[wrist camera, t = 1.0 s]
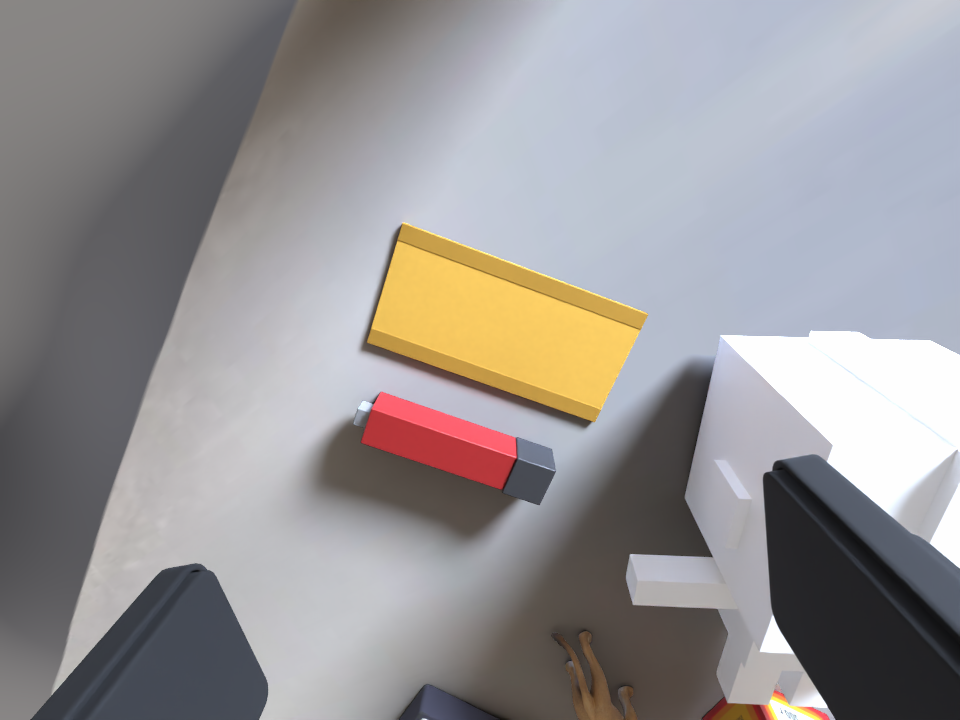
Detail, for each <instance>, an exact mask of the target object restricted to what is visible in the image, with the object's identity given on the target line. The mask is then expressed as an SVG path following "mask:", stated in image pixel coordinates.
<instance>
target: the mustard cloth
mask: <svg viewBox="0 0 960 720" xmlns="http://www.w3.org/2000/svg"><path fill="white" fill-rule="evenodd" d="M647 316H648V314H647V313H645V312H642V311H640V310H637V309H634V308H632V307H629V306H626V305H624V304H621V303H618V302H616V301H613V300H610V299H608V298H605V297H602V296H600V295H597V294H594V293H591V292H589V291H586V290H583V289H581V288H578V287H575V286H573V285H570V284H567V283H565V282H562V281H559V280H557V279H554V278H551V277H548V276H546V275H543V274H540V273H538V272H535V271H532V270H530V269H527V268H524V267H522V266H519V265H516V264H514V263H511V262H508V261H505V260H503V259H500V258H497V257H495V256H492V255H489V254H487V253H484V252H481V251H479V250H476V249H473V248H471V247H468V246H465V245H463V244H460V243H457V242H454V241H452V240H449V239H446V238H444V237H441V236H438V235H436V234H433V233H430V232H428V231H425V230H422V229H420V228H417V227H414V226H411V225H409V224H406V223H402V226H401V229H400V233H399V236H398V240H397V243H396V246H395V250H394V253H393V256H392V260H391V263H390V267H389V270H388V273H387V277H386V280H385V283H384V287H383V290H382V293H381V297H380V300H379V303H378V307H377V310H376V314H375V317H374V320H373V324H372V327H371V330H370V333H369V337H368V340H367V343H369V344H372V345H375V346H378V347H381V348H384V349H387V350H389V351H392V352H395V353H398V354H401V355H404V356H407V357H409V358H412V359H415V360H418V361H421V362H424V363H427V364H429V365H432V366H435V367H438V368H441V369H444V370H446V371H449V372H452V373H455V374H458V375H461V376H464V377H466V378H469V379H472V380H475V381H478V382H481V383H484V384H486V385H489V386H492V387H495V388H498V389H501V390H504V391H506V392H509V393H512V394H515V395H518V396H521V397H524V398H526V399H529V400H532V401H535V402H538V403H541V404H544V405H546V406H549V407H552V408H555V409H558V410H561V411H564V412H566V413H569V414H572V415H575V416H578V417H581V418H584V419H586V420H589V421H592V422H595V421H596V419H597V417H598V415H599V413H600V411H601V408H602V406H603V404H604V402H605V400H606V398H607V396H608V394H609V392H610V390H611V388H612V386H613V384H614V382H615V380H616V378H617V376H618V374H619V372H620V370H621V368H622V366H623V364H624V362H625V360H626V358H627V356H628V354H629V352H630V350H631V348H632V346H633V344H634V342H635V340H636V338H637V336H638V334H639V332H640V330H641V328H642V326H643V324H644V322H645V320H646V318H647Z"/></svg>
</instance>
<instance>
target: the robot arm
mask: <svg viewBox="0 0 960 720" xmlns="http://www.w3.org/2000/svg"><path fill="white" fill-rule="evenodd" d="M763 493H764V509H765V524H766V539H767V554H768V569H769V584H770V599H771V609H772V612H773V616H774V619H775V621H776V624H777V626H778V628H779V630H780V632H781V633H782V635H783V636H784V638H785V640H786V641H787V643H788V644H789V646H790V648H791V649H792V651H793V652H794V654H795V656H796V657H797V659H798V660H799V662H800V664H801V665H802V667H803V668H804V670H805V671H806V673H807V675H808V676H809V678H810V679H811V681H812V683H813V684H814V686H815V687H816V689H817V691H818V692H819V694H820V695H821V697H822V699H823V700H824V702H825V703H826V705H827V706H828V708H829V710H830V711H831V713H832V714H833V716H834V718H835V719H836V720H960V568H959V567H957V566H956V565H955V564H954V563H953V562H951V561H950V560H949V559H948V558H947V557H945V556H944V555H943V554H942V553H941V552H939V551H938V550H937V549H936V548H935V547H933V546H932V545H931V544H930V543H928V542H927V541H925V540H924V539H922V538H921V537H919V536H918V535H915V534H911V533H910V532H909V531H908V530H907V529H905V528H904V527H903V526H902V525H901V524H900V523H898V522H897V521H896V520H895V519H894V518H892V517H891V516H890V515H889V514H888V513H887V512H885V511H884V510H883V509H882V508H881V507H880V506H878V505H877V504H876V503H875V502H874V501H872V500H871V499H870V498H869V497H868V496H867V495H865V494H864V493H863V492H862V491H861V490H859V489H858V488H857V487H856V486H855V485H854V484H852V483H851V482H850V481H849V480H848V479H846V478H845V477H844V476H843V475H842V474H841V473H839V472H838V471H837V470H836V469H835V468H834V467H832V466H831V465H830V464H829V463H828V462H826V461H825V460H824V459H823V458H822V457H820V456H818V455H816V454H811V455H805V456H799V457H794V458H788V459H782V460H777V461H775V462H774V464H773V467H772V471H770V472H766V473H764V475H763ZM267 697H268V683H267V680H266V678H265V676H264V673H263V671H262V669H261V667H260V665H259V663H258V661H257V659H256V657H255V655H254V653H253V651H252V649H251V647H250V645H249V643H248V641H247V639H246V637H245V635H244V633H243V631H242V629H241V627H240V624H239V622H238V620H237V618H236V616H235V614H234V612H233V610H232V608H231V606H230V604H229V602H228V600H227V598H226V596H225V594H224V592H223V590H222V588H221V586H220V584H219V582H218V580H217V577H216V576H215V574H214V573H213V572H212V571H209V570H207V569H206V568H205V567H204V566H203V565H201V564H196V563H195V564H190V565H184V566H178V567H173V568H168V569H165V570H162V571H161V572H160V573H159V574H158V575H157V576H156V577H155V578H154V579H153V580H152V581H151V583H150V584H149V585H148V586H147V587H146V588H145V589H144V591H143V592H142V593H141V594H140V595H139V596H138V597H137V599H136V600H135V601H134V602H133V603H132V604H131V605H130V607H129V608H128V609H127V610H126V611H125V612H124V613H123V615H122V616H121V617H120V618H119V619H118V620H117V621H116V623H115V624H114V625H113V626H112V627H111V628H110V629H109V631H108V632H107V633H106V634H105V635H104V636H103V637H102V639H101V640H100V641H99V642H98V643H97V644H96V645H95V647H94V648H93V649H92V650H91V651H90V652H89V654H88V655H87V656H86V657H85V658H84V659H83V660H82V662H81V663H80V664H79V665H78V666H77V667H76V668H75V670H74V671H73V672H72V673H71V674H70V675H69V676H68V678H67V679H66V680H65V681H64V682H63V683H62V684H61V686H60V687H59V688H58V689H57V690H56V691H55V692H54V694H53V695H52V696H51V697H50V698H49V699H48V700H47V702H46V703H45V704H44V705H43V706H42V707H41V708H40V710H39V711H38V712H37V713H36V714H35V715H34V717H33V718H32V719H31V720H259V718H260V716H261V714H262V711H263V709H264V707H265V704H266V701H267Z"/></svg>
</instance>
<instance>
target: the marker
mask: <svg viewBox="0 0 960 720" xmlns="http://www.w3.org/2000/svg"><path fill="white" fill-rule="evenodd" d="M353 424H354V425H357V426H360V427H362V428H365V430H364V433H363V436H362V439H361V443H362V444H365V445H368V446H371V447H374V448H377V449H380V450H383V451H386V452H389V453H392V454H395V455H398V456H401V457H404V458H407V459H410V460H413V461H416V462H419V463H422V464H425V465H428V466H431V467H434V468H437V469H440V470H443V471H446V472H449V473H452V474H455V475H458V476H461V477H464V478H467V479H470V480H473V481H476V482H479V483H482V484H485V485H488V486H491V487H494V488H497V489H500V490H502V493H504V494H507V495H510V496H513V497H516V498H519V499H522V500H525V501H528V502H531V503H534V504H537V505H540V503H541V501H542V499H543V497H544V495H545V493H546V491H547V489H548V487H549V485H550V483H551V481H552V479H553V476H554V474H555V472H556V469H555V463H554V458H553V452H552V449H550V448H547V447H544V446H541V445H538V444H535V443H532V442H530V441H527V440H524V439H521V438H518V437H517V438H514V437H511V436H509V435H506V434H503V433H500V432H497V431H494V430H491V429H488V428H485V427H482V426H479V425H476V424H474V423H471V422H468V421H465V420H462V419H459V418H456V417H453V416H450V415H447V414H444V413H441V412H439V411H436V410H433V409H430V408H427V407H424V406H421V405H418V404H415V403H412V402H409V401H406V400H404V399H401V398H398V397H395V396H392V395H389V394H386V393H383V392H380V394H379V396H378V397H377V399H376V401H375V403H374V404H371V403H368V402H365V401H362V402H361V404H360V406H359V407H358V409H357V413H356V416H355V419H354V422H353Z"/></svg>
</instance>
